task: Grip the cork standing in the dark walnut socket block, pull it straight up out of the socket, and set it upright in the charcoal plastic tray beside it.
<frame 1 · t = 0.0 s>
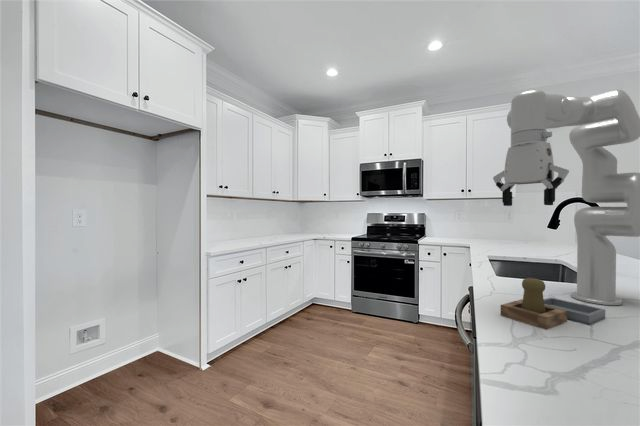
hand: (527, 205, 76), 31 cm above the counter, fingers open, 9 cm apart
tray: (567, 314, 84), on the counter
socket block: (533, 318, 80), on the counter
cork: (533, 319, 80), resting in socket block
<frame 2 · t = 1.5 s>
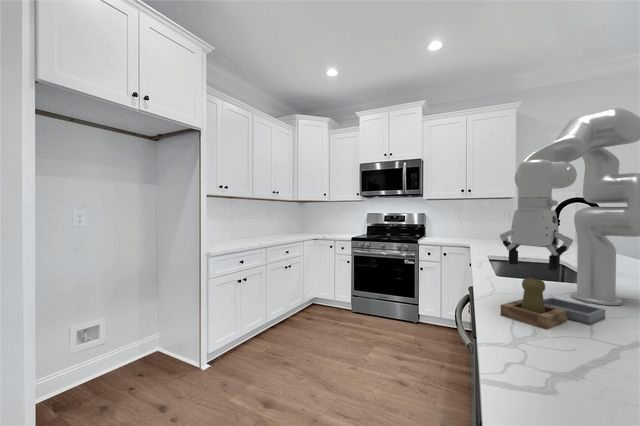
hand: (532, 267, 80), 14 cm above the counter, fingers open, 9 cm apart
nothing on the counter moved.
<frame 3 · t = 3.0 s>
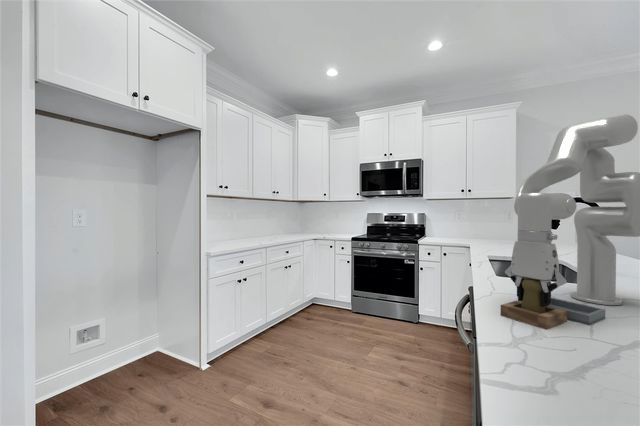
hand: (533, 302, 80), 4 cm above the counter, fingers closed on cork, 4 cm apart
cork: (532, 319, 80), resting in socket block, touching gripper
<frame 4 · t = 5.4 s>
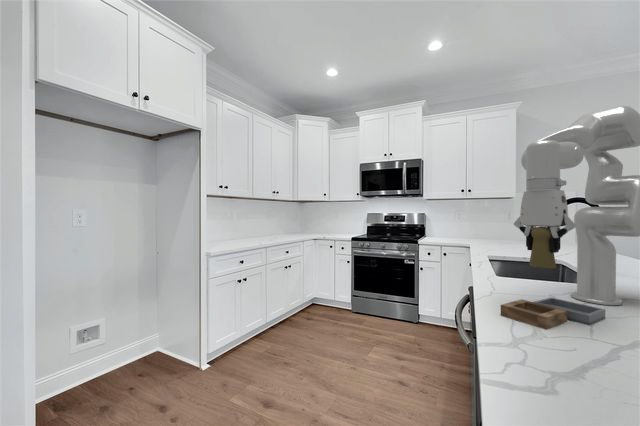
hand: (542, 250, 81), 19 cm above the counter, fingers closed on cork, 4 cm apart
cork: (542, 266, 81), point 14 cm above the counter, touching gripper
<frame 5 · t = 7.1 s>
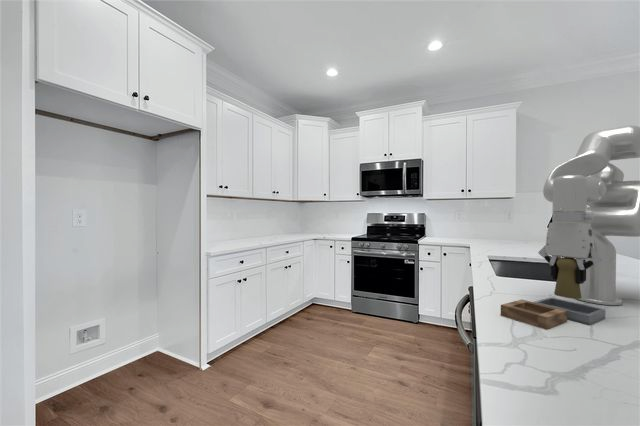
hand: (567, 280, 83), 10 cm above the counter, fingers closed on cork, 4 cm apart
cork: (567, 296, 83), point 5 cm above the counter, touching gripper
when the fingers open (6 cm above the counter, at t = 8.1 s): cork drops 1 cm, resting on tray.
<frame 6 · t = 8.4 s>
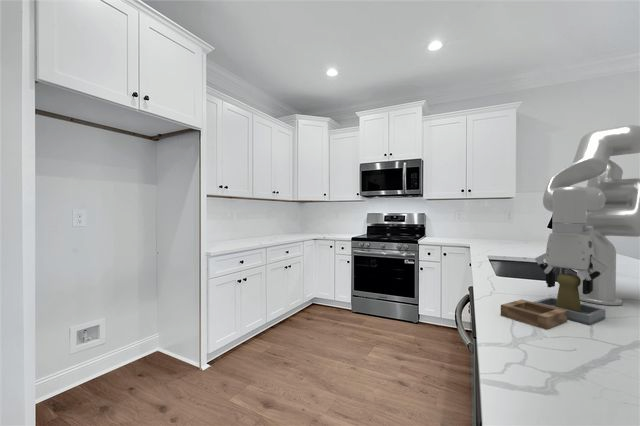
hand: (568, 289, 84), 7 cm above the counter, fingers open, 7 cm apart
cork: (568, 312, 84), resting on tray
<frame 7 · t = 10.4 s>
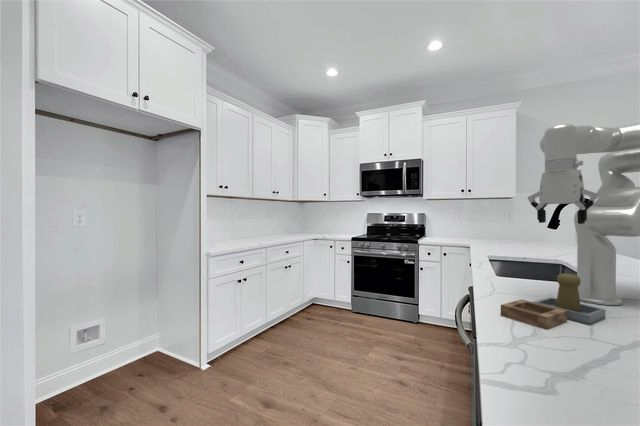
hand: (560, 223, 88), 26 cm above the counter, fingers open, 9 cm apart
nothing on the counter moved.
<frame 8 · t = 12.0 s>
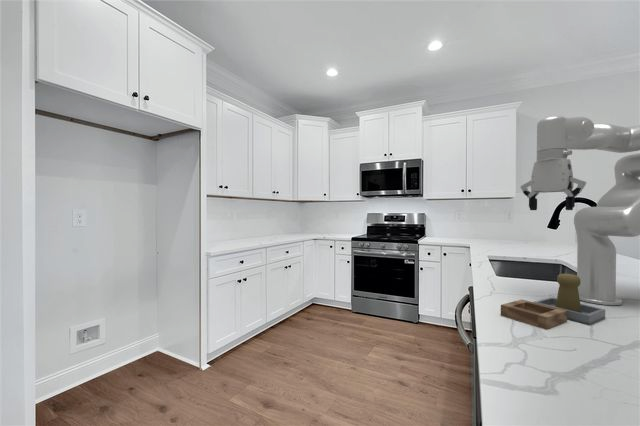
hand: (550, 210, 93), 30 cm above the counter, fingers open, 9 cm apart
nothing on the counter moved.
at the end: cork inside the target area on the tray (0.1 cm from its centre), point 0.4 cm above the tray's base; cork tilted 0°; the gripper is holding nothing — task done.
